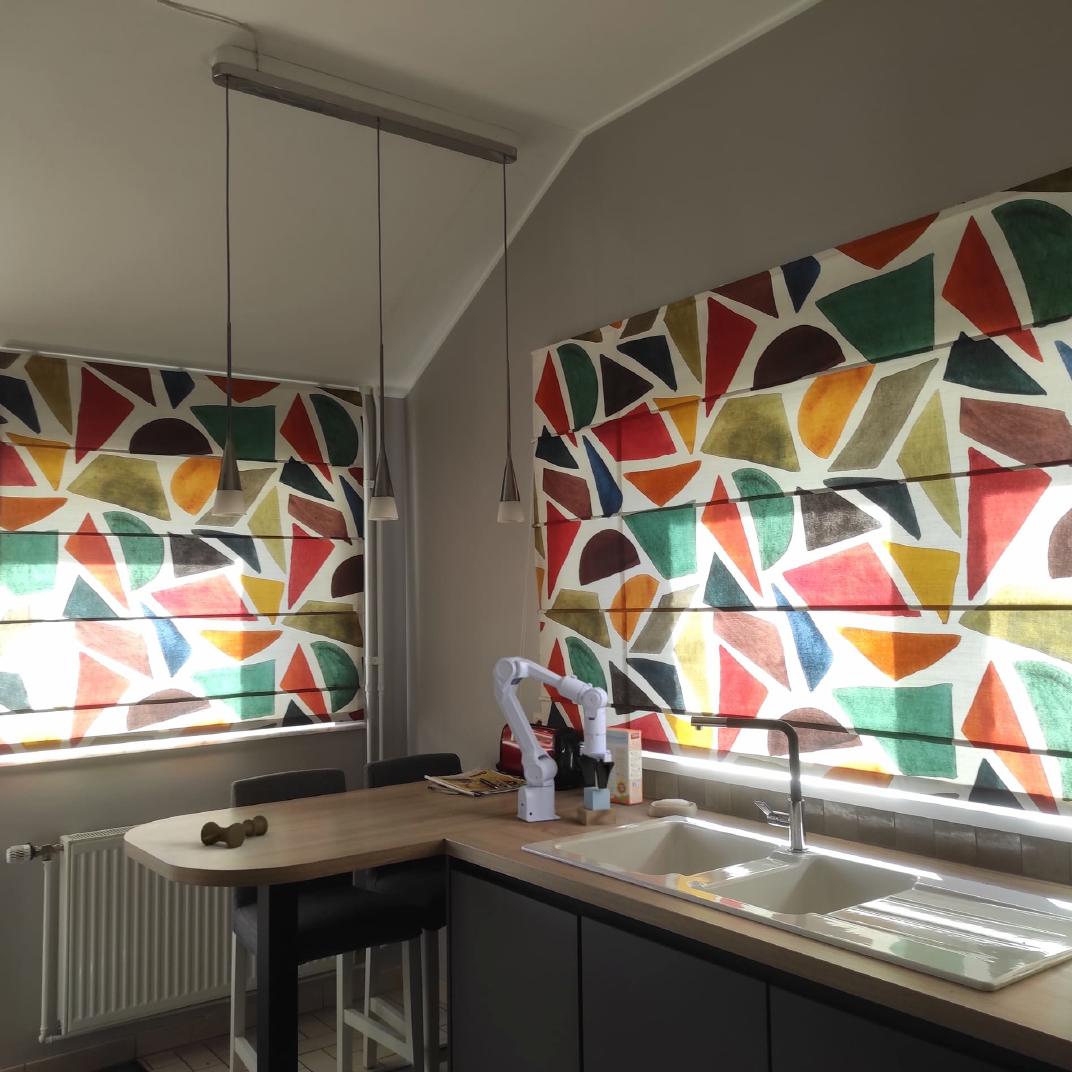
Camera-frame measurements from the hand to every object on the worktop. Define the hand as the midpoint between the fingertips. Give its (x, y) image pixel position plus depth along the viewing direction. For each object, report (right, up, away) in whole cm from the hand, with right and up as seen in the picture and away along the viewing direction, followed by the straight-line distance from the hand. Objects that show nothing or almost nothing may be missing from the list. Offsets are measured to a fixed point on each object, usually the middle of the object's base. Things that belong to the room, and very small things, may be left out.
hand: (595, 786), depth 260 cm
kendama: (-89, -9, -20) cm, 92 cm away
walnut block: (0, -10, -1) cm, 10 cm away
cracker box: (+8, -12, +28) cm, 31 cm away
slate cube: (0, -6, -1) cm, 6 cm away
